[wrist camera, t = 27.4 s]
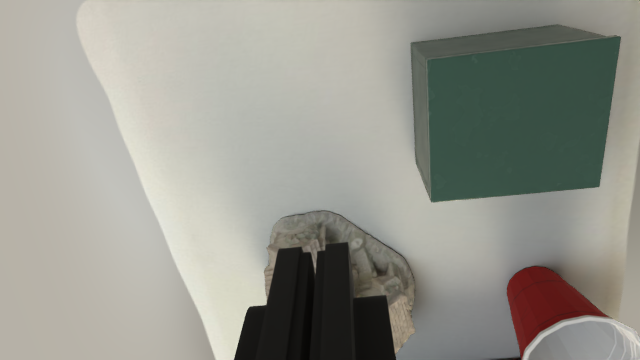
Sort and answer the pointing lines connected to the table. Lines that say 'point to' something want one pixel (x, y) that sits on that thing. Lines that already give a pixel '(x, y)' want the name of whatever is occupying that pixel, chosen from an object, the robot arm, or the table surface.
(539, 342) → the plastic cup
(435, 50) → the tin
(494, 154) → the lid
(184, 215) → the table surface
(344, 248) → the robot arm
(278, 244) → the ceramic cottage
